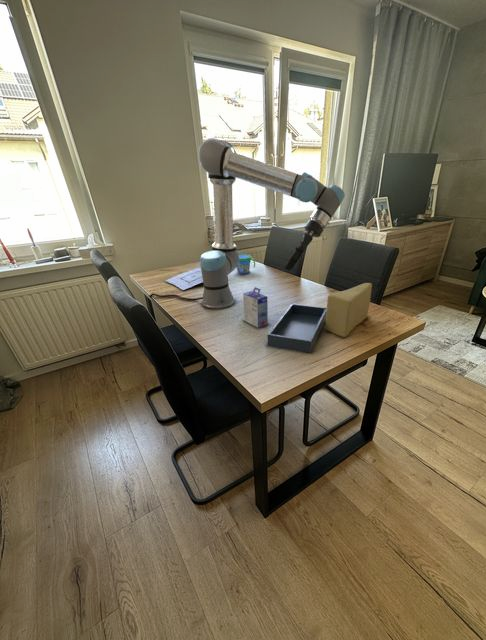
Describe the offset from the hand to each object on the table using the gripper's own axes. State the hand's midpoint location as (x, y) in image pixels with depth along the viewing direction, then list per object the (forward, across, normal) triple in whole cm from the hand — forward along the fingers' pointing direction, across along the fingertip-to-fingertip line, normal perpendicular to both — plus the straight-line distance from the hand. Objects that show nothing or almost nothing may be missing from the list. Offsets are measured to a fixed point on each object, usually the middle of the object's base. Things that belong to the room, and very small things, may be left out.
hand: (288, 268), depth 120 cm
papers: (+31, +48, +41) cm, 70 cm away
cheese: (+6, -13, -33) cm, 36 cm away
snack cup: (+11, +60, +21) cm, 65 cm away
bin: (+19, -16, -17) cm, 30 cm away
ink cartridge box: (+26, -8, -1) cm, 28 cm away
